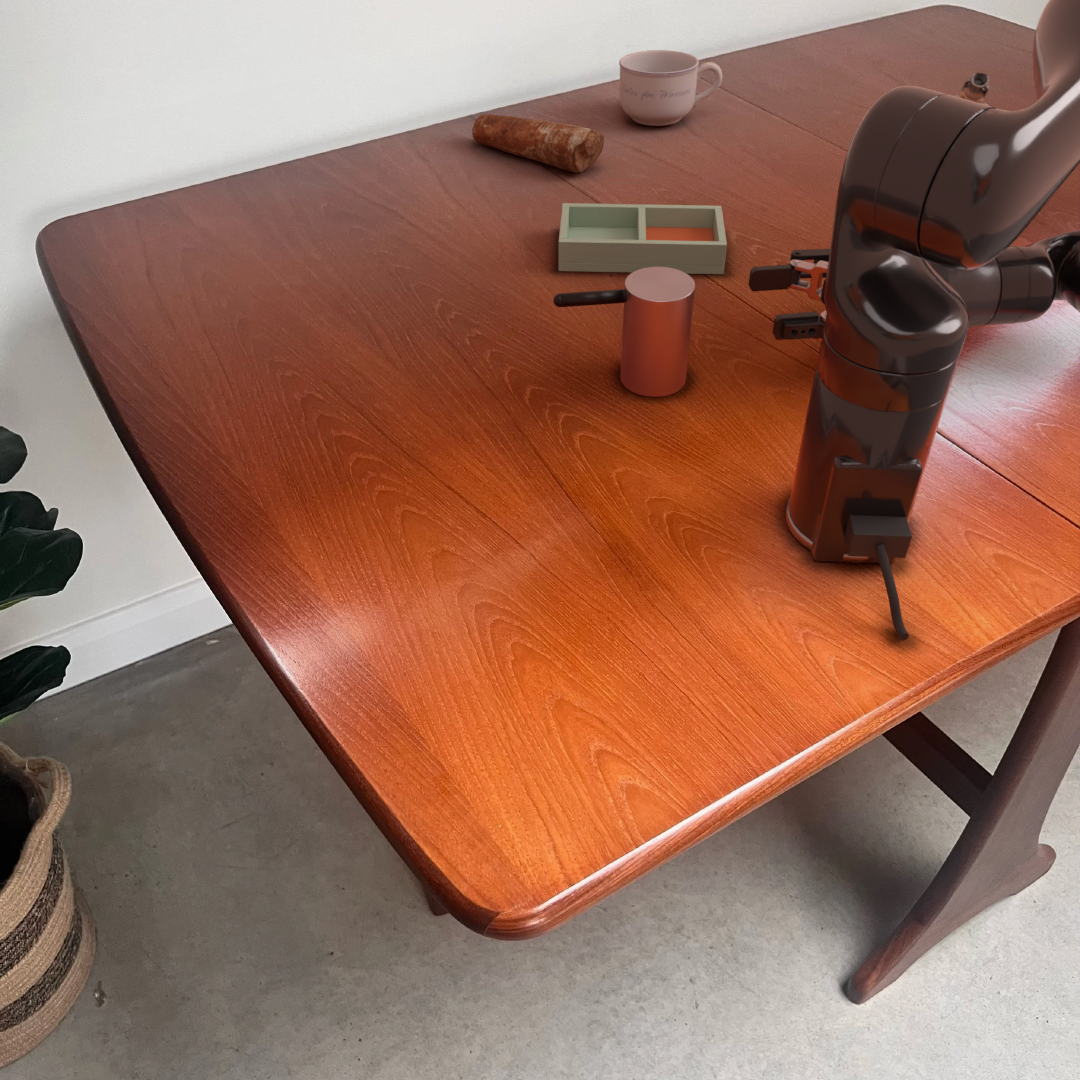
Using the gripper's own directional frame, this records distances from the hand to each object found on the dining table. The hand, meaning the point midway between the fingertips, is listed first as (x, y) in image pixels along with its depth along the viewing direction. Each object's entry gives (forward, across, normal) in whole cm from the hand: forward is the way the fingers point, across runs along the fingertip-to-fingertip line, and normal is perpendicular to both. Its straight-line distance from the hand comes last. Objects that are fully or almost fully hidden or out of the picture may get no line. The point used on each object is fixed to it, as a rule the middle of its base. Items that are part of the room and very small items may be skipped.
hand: (762, 302), depth 95 cm
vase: (-46, -58, +8) cm, 75 cm away
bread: (+16, -52, +8) cm, 55 cm away
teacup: (-4, -62, +8) cm, 63 cm away
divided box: (+6, -25, +7) cm, 27 cm away
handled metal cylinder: (+13, 0, +7) cm, 15 cm away
